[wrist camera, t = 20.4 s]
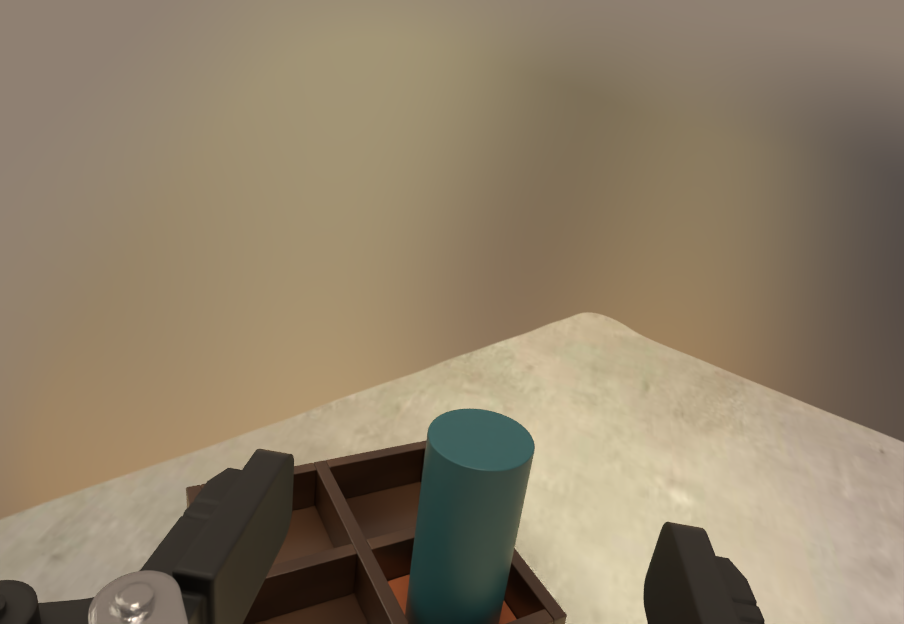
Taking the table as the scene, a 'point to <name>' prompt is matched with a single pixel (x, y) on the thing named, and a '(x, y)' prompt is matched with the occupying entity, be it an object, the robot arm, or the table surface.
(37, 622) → the robot arm
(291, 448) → the table surface
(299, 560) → the grid
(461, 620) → the tall teal cylinder
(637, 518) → the table surface
